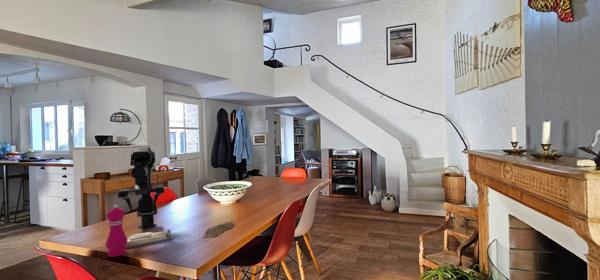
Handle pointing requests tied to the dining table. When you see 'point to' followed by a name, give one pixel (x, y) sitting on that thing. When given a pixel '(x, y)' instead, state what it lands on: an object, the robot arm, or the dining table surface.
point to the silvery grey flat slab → (153, 241)
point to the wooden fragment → (218, 229)
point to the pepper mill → (116, 232)
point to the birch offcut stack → (145, 238)
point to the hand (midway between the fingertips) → (142, 209)
